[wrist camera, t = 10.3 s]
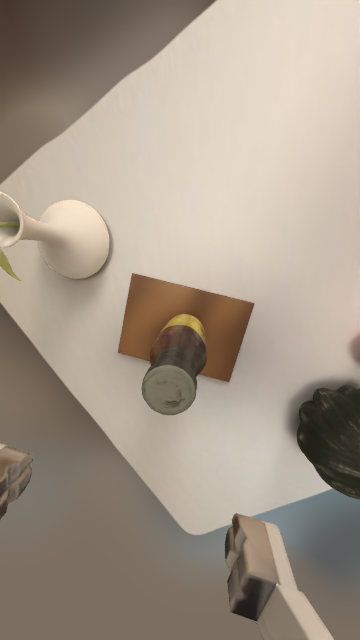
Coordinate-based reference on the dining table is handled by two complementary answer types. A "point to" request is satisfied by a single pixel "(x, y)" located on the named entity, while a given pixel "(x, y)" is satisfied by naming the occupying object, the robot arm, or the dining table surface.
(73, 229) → the flower in vase
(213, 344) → the cork mat
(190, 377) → the sauce bottle
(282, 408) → the dining table surface
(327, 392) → the squash
